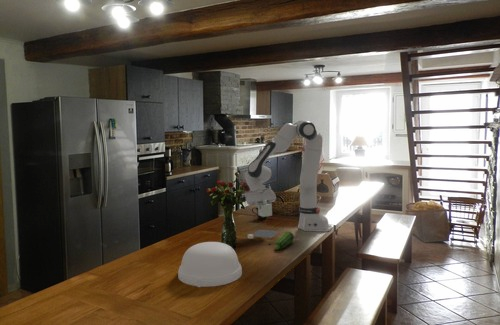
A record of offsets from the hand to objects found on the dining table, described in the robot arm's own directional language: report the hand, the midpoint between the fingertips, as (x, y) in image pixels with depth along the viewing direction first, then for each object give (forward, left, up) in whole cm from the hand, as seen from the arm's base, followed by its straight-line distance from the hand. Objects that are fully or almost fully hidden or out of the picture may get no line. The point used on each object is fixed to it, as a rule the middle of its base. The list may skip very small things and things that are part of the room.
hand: (265, 208), depth 247 cm
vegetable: (-18, +19, -18) cm, 32 cm away
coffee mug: (+19, -39, -17) cm, 47 cm away
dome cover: (+2, +70, -18) cm, 72 cm away
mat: (+1, 0, -17) cm, 17 cm away
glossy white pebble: (+6, +12, -17) cm, 22 cm away
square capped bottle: (0, 0, -5) cm, 5 cm away
